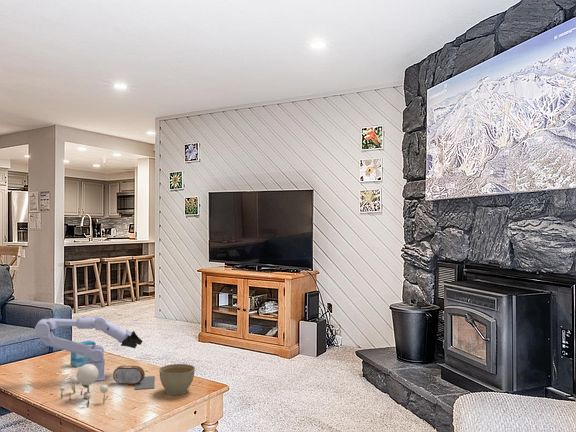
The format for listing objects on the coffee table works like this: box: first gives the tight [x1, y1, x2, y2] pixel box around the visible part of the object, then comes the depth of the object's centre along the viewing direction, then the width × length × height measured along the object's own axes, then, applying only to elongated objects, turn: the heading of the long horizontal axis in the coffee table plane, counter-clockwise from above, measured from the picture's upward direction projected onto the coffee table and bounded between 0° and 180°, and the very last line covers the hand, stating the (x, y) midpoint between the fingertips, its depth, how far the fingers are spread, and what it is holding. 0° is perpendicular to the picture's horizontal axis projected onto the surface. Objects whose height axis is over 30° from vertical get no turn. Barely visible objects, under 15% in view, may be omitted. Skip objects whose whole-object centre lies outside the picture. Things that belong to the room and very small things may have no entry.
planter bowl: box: [158, 363, 196, 396], centre depth 223 cm, size 16×16×11 cm
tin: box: [112, 365, 146, 385], centre depth 233 cm, size 15×3×8 cm, turn 84°
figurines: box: [59, 364, 109, 408], centre depth 212 cm, size 25×12×15 cm, turn 58°
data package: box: [70, 340, 96, 368], centre depth 264 cm, size 12×4×12 cm, turn 143°
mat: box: [134, 375, 156, 391], centre depth 235 cm, size 9×18×1 cm, turn 15°
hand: (138, 344), depth 248 cm, fingers open, 7 cm apart
